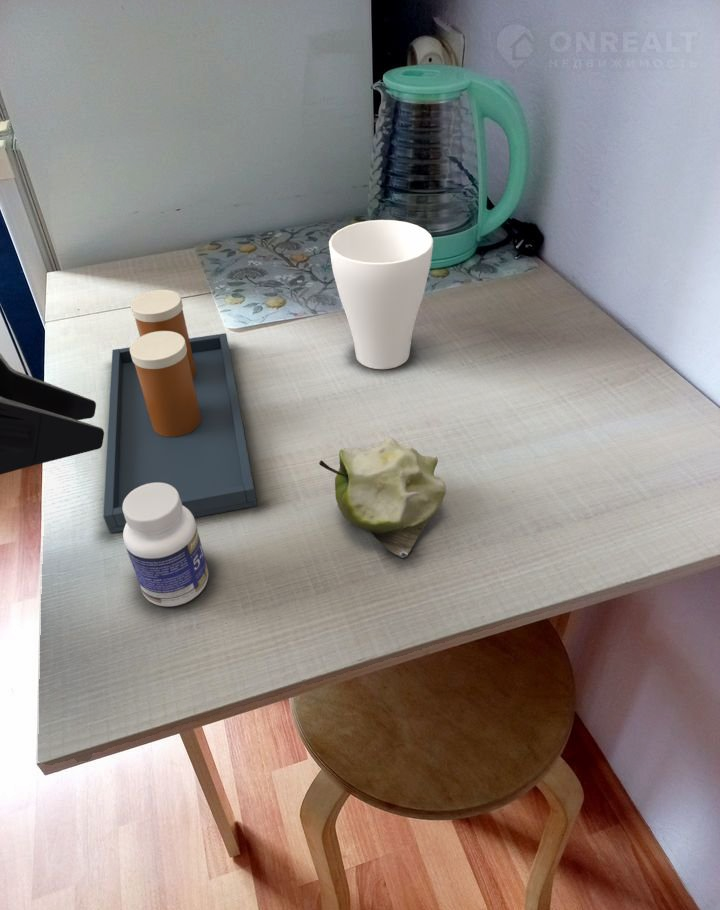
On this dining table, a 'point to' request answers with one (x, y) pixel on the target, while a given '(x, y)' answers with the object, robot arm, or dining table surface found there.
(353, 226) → the cup
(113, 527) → the tray
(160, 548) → the pill bottle
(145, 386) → the amber bottle middle
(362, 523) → the fruit
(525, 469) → the dining table surface
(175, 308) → the amber bottle far
